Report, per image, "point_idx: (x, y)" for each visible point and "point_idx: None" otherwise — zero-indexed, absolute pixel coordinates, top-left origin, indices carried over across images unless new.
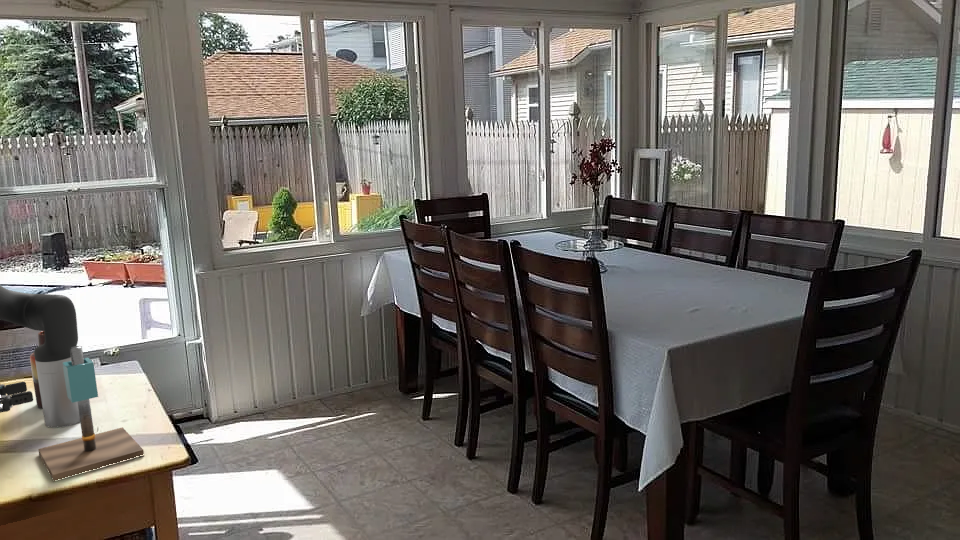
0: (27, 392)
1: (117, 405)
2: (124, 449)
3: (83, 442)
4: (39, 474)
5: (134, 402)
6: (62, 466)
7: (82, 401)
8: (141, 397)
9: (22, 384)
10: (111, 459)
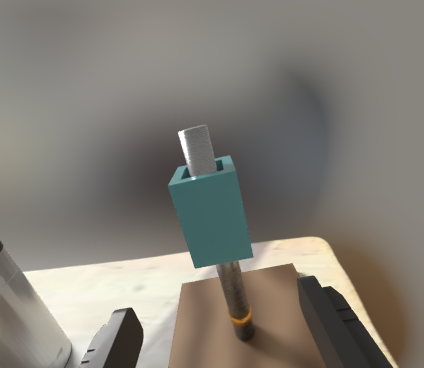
0: (320, 286)
1: (74, 294)
2: (277, 282)
3: (244, 328)
4: None
5: (90, 277)
6: None
7: None
8: (85, 270)
9: (127, 323)
10: None
